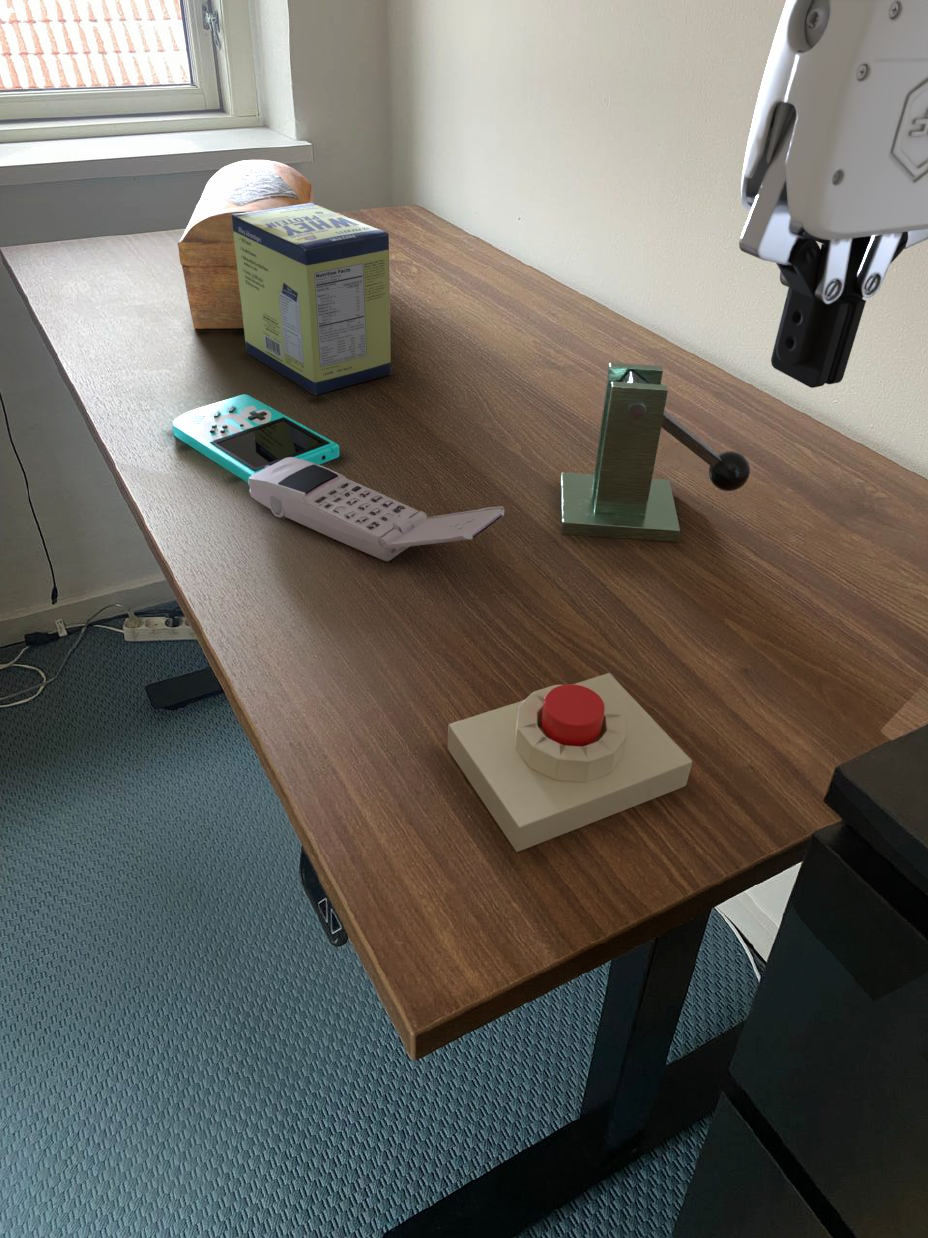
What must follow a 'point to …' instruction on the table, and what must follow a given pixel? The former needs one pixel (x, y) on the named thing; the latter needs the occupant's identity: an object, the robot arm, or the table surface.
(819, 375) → the robot arm
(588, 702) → the button
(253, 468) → the handheld game console
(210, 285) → the wooden box
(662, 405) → the bracket
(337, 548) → the table surface
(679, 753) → the button block
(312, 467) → the mobile phone
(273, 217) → the protein box
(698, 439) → the lever
